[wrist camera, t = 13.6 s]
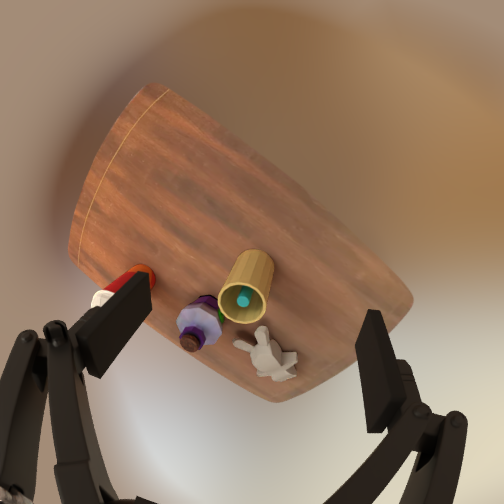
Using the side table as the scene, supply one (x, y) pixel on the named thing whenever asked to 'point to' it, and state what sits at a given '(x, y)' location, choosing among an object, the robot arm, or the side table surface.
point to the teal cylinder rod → (244, 296)
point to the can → (249, 274)
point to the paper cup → (120, 284)
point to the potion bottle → (200, 323)
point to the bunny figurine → (269, 356)
